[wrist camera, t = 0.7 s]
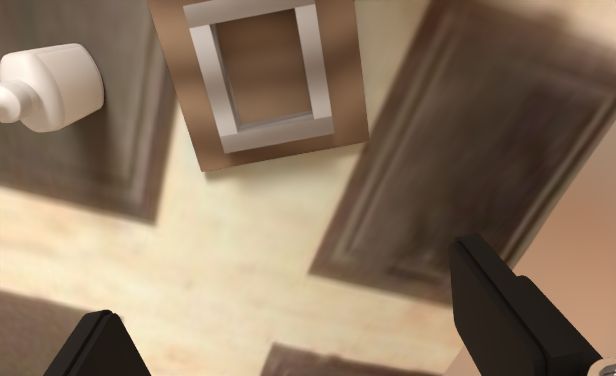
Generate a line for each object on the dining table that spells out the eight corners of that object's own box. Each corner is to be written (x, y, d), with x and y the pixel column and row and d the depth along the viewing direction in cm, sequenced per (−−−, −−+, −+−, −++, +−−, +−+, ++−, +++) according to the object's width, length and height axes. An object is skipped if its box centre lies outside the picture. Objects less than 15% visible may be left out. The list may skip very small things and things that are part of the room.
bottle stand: (147, -17, 31) (126, -21, 27) (344, -56, 30) (353, -66, 26) (204, 166, 38) (194, 185, 33) (366, 136, 37) (376, 151, 33)
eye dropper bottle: (114, 56, 33) (29, 78, 22) (102, 116, 35) (19, 163, 24) (60, 35, 32) (-56, 48, 21) (51, 98, 34) (-58, 139, 23)
